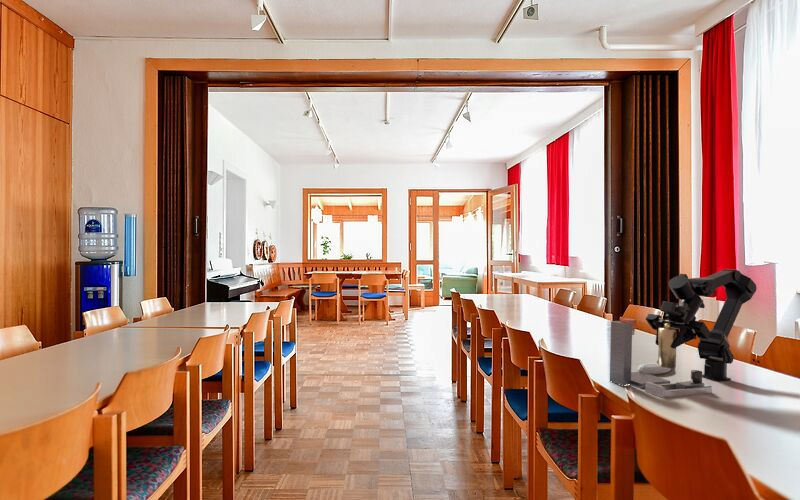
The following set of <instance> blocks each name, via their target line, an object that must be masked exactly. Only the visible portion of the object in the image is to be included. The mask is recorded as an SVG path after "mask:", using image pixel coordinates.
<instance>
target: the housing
mask: <svg viewBox="0 0 800 500" xmlns="http://www.w3.org/2000/svg"><path fill="white" fill-rule="evenodd" d="M676 336H677V329H675V328H671V327H670V324H665V327H659V328H658V345H657V348H658V349H657V361H658V366H660V367H664V368H671V369H675V368H677V347H676V348H674V349H673V348H672V347H671V346H672V343H673V341H674V340H675V338H676Z"/></svg>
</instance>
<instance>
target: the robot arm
mask: <svg viewBox="0 0 800 500" xmlns="http://www.w3.org/2000/svg"><path fill="white" fill-rule="evenodd" d="M667 285H668V287H669V289H670V290H671V292H672V293H673V295H674V296H675V298H676V299H677V300H679V302H678V303H677V302H671V301H662V303H661V307H660V312H662V313H665V317H666V318H667V319H668V320H667V319H664V318H663V317H662V316H661V314H655V313H654V314H653V313H648V314H647V316H646V317H645V321H646V322H647V323H648V324H649V327H651V329H652V330H654V331H656V336H655V345H656V346H658V328H659V327H665V324H670V328H675V329H676V330H679V332H678V333H677V334H676V338H675V340H674V341H673V343H672V346H671V347H672V348H673V349H674V348H676V349H677V348H678V347H679V346H681V345H684V344H685V343H687V342H690V341H692V340H693V341H694V340H697V338H698V340H699V342H698V344H697V352H698V357H699V359H700V360H701V359H703V360H704V365H703V366H704V368H703V369H704V370H703V373H704V374H703V373H702V378H706V379H708V380H713V381H716V382H720V381H721V382H722V381H731V380H732V378H731V377H727V376H728V375H727V369H728V364H730V365H731V364H733V362H734V358H735V356H734V354H733V352H732V350H731V349H730V346H731V345H730V344H731V343H730V342H729V339H728V337H729V334H730V333H731V330H732V328H733V326H734V323H735V322H736V319H737V317H738V315H739V312H740V311H741V308H742V305H744V304H745V303H747V302H749V301H750V300H752V298H753V297H754V295H755V293H756V292H757V285H756V283H755V282H754V280H753V279H752V278H751V277H749V276H747V275H745V274H743V273H741V272H740V271H739V270H738V269H732V268H723V269H721V270H720V271H717V272H714V273H713V274H710V275H707V276H705V277H691V278H689V277H688V275H687V274H686V273H679V275H676V276H674V277H672V278H671V279H669V281H668V283H667ZM721 287H723V288H724V292H725V295H726V299H725V301H724V304H723V305H722V308H721V310H720V312H719V314H718V316H717V319H716V320H715V322H714V325H713V327H712V329H711V330H709V327H708V326H707V325H706V323H705V322H704V321H701V320H697V317H696V314H697V313H698V311H699V309H705V308H706V305H705V303H704V300H703V298H701V297H705V298H709V297H711V296H712V295H714V294H715V293H716V289H718V288H721Z"/></svg>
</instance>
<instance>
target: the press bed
mask: <svg viewBox="0 0 800 500" xmlns="http://www.w3.org/2000/svg"><path fill="white" fill-rule="evenodd" d="M636 329H637V319H633V318H630V317H629V318H627V317H625V318H620V320H613V321H612V320H611V321H610V350H609V351H610V353H609V354H610V355H609V358H610V359H609V382H610V381H612V382H611V383H613V382H614V383H613V384H615V383H617V384H616V385H618V384H620V385H623V386H624V385H626V384H630V386H629V387H631V386H633V387H636V388H639V389H645V384H646V382H651V383H654V384H668V383H671V380H668V379H665V378H662V377H658V376H657V375H656V376H655V375H654V374H647V373H644V372H639V371H632V360H633V359H632V352H633V351H632V350H633V349H632V348H633V347H632V346H633V336H634V335H635V330H636ZM620 385H619V386H620ZM623 386H622V387H623Z"/></svg>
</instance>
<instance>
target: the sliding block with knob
mask: <svg viewBox="0 0 800 500" xmlns="http://www.w3.org/2000/svg"><path fill="white" fill-rule="evenodd" d="M702 374H703V371H702V370H699V369H698V370H697V369H692V370H690V380H689V381H680V382H679V381H678V382H677V381H676V382H675V383H676V389H686V388H696V387H705V383H704V382H703V377H702ZM676 389H675V390H676Z"/></svg>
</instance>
